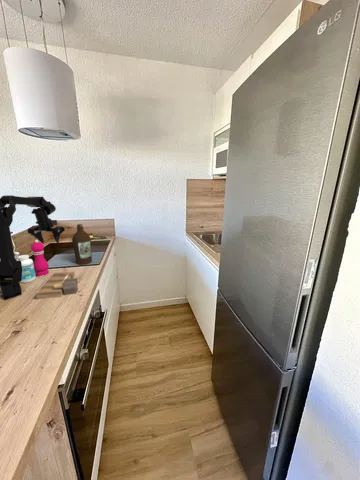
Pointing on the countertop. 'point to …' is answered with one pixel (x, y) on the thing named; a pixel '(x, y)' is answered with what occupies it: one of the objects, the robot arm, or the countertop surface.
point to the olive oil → (82, 246)
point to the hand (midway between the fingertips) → (50, 242)
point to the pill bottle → (27, 269)
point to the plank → (48, 287)
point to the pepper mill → (39, 259)
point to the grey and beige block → (68, 286)
